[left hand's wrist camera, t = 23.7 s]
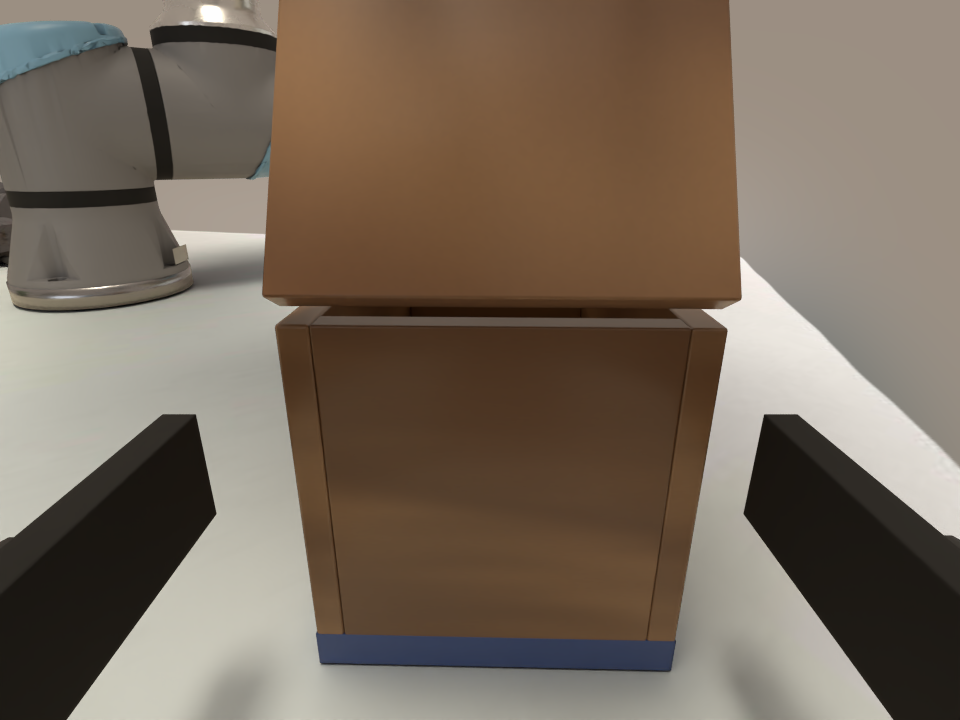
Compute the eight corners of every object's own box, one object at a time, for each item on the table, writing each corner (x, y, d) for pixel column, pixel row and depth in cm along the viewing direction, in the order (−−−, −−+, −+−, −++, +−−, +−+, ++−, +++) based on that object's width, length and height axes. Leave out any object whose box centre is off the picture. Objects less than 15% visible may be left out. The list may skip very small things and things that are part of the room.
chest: (402, 420, 29) (392, 232, 25) (586, 422, 29) (600, 232, 25) (319, 662, 15) (272, 325, 12) (671, 670, 15) (729, 328, 11)
